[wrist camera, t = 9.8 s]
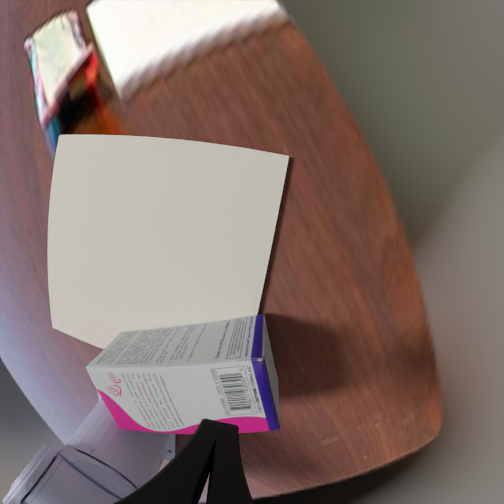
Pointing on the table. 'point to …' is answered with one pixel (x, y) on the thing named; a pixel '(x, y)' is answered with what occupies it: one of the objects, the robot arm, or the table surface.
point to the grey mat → (157, 233)
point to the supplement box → (190, 377)
